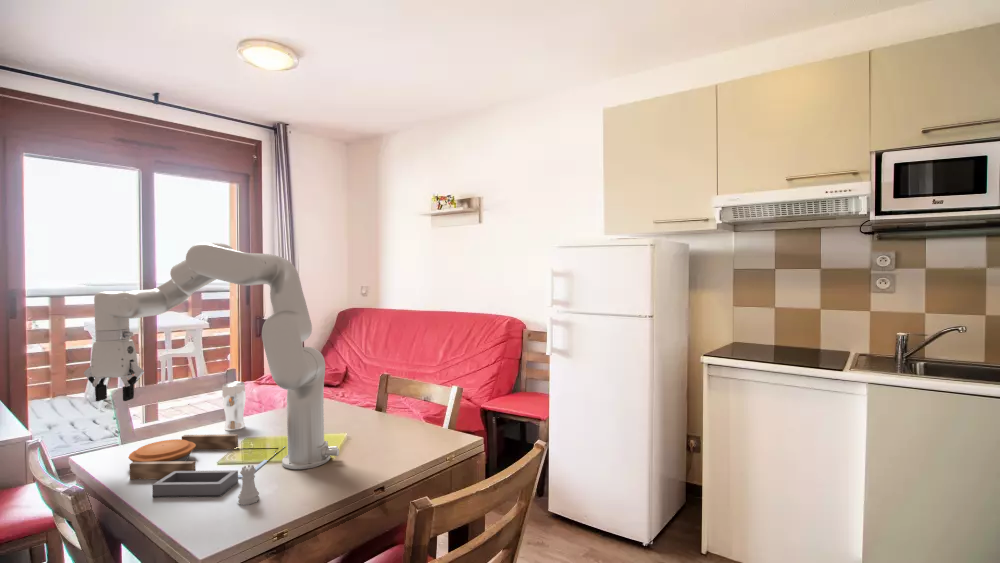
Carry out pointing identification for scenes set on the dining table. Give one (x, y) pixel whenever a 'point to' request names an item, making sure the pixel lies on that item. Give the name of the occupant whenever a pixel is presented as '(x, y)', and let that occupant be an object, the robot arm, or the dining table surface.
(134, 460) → the pie
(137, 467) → the channel walls
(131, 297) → the robot arm
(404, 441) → the dining table surface
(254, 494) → the rook chess piece
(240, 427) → the beer glass
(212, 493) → the grey tray
